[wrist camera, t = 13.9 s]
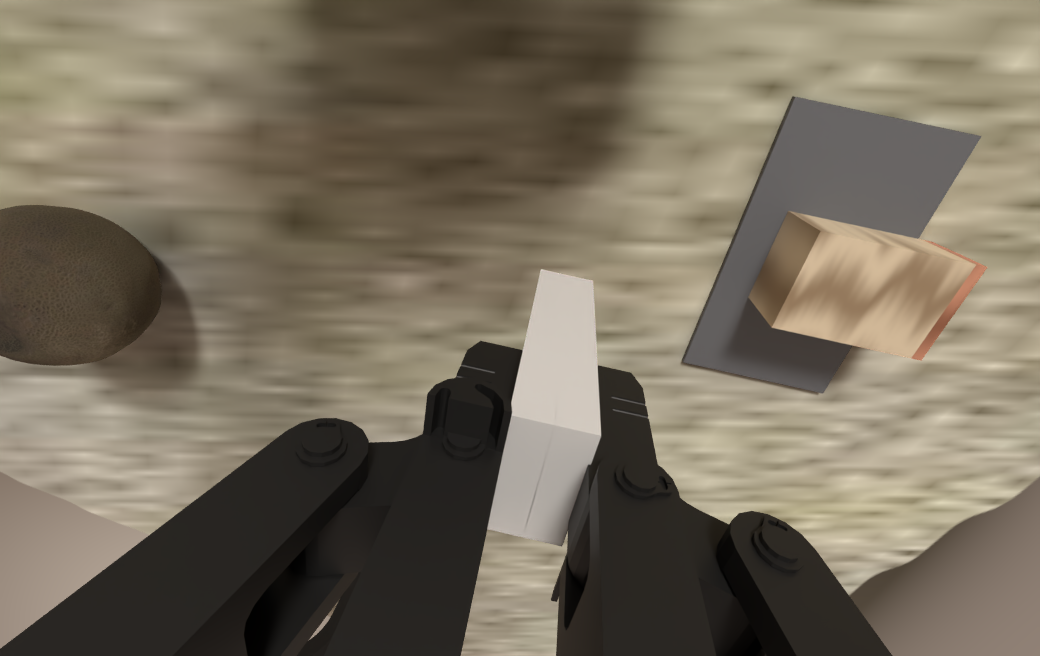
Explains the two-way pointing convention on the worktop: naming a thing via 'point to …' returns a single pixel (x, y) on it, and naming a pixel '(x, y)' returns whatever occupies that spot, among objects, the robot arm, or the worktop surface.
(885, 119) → the rubber mat
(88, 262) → the cantaloupe
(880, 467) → the worktop surface
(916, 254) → the maple block
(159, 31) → the worktop surface
